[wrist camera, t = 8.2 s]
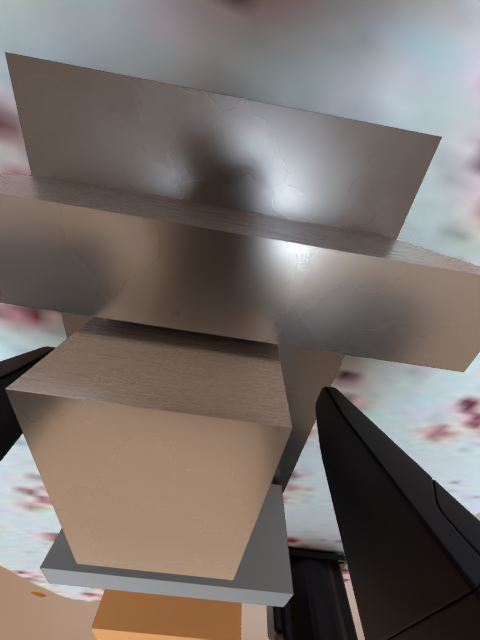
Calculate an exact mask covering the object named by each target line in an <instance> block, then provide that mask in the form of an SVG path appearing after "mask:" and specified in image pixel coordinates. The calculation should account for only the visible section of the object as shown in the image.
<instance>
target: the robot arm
mask: <svg viewBox="0 0 480 640" xmlns="http://www.w3.org/2000/svg"><path fill="white" fill-rule="evenodd" d="M54 349H55V347H47V346H46V347H42V348H39V349H36V350H33V351H30V352H27V353H24V354H21V355H18V356H15V357H12V358H9V359H6V360H3V361H0V461H1V460H2V459H3V458H4V456H5V455H6V454H7V452H8V451H9V450H10V449H11V447H12V446H13V445H14V444H15V442H16V441H17V440H18V439H19V437H20V436H21V435H22V434H23V432H22V429H21V427H20V424H19V422H18V420H17V417H16V415H15V412H14V410H13V407H12V405H11V402H10V400H9V398H8V395H7V393H6V390H5V389H6V388H7V387H8V386H9V385H11V384H12V383H13V382H14V381H16V380H17V379H18V378H19V377H21V376H22V375H23V374H24V373H26V372H27V371H28V370H29V369H31V368H32V367H33V366H34V365H35V364H37V363H38V362H39V361H40V360H42V359H43V358H44V357H45V356H47V355H48V354H49V353H50V352H52V351H53V350H54ZM315 411H316V419H317V427H318V435H319V443H320V450H321V455H322V460H323V464H324V468H325V473H326V477H327V481H328V485H329V489H330V494H331V498H332V502H333V506H334V511H335V515H336V519H337V523H338V527H339V532H340V536H341V540H342V544H343V548H344V553H345V556H344V555H338V554H329V553H320V552H311V551H302V550H294V549H288V550H289V559H290V568H291V577H292V586H293V596H292V597H291V598H290V599H289V601H288V602H287V603H286V605H285V606H284V607H277V606H267V627H268V637H269V639H270V640H358V638H357V634H356V629H355V625H354V621H353V617H352V613H351V609H350V605H349V601H348V597H347V592H346V588H345V584H344V580H343V576H342V572H341V569H342V568H343V567H344V566H345V565H346V564H347V565H348V570H349V574H350V578H351V582H352V586H353V591H354V595H355V599H356V603H357V607H358V612H359V616H360V620H361V624H362V628H363V633H364V637H365V640H480V521H479V520H478V519H477V518H476V517H475V516H474V515H472V514H471V513H470V512H469V511H468V510H467V509H466V508H465V507H464V506H462V505H461V504H460V503H459V502H458V501H457V500H456V499H455V498H454V497H453V496H451V495H450V494H449V493H448V492H447V491H446V490H445V489H444V488H443V487H442V486H441V485H440V484H439V483H437V482H436V481H435V480H432V477H431V476H430V475H429V474H428V473H427V472H426V471H424V470H423V469H422V468H421V467H420V466H419V465H418V464H417V463H416V462H415V461H414V460H413V459H412V458H410V457H409V456H408V455H407V454H406V453H405V452H404V451H403V450H402V449H401V448H400V447H399V446H398V445H396V444H395V443H394V442H393V441H392V440H391V439H390V438H389V437H388V436H387V435H386V434H385V433H384V432H383V431H381V430H380V429H379V428H378V427H377V426H376V425H375V424H374V423H373V422H372V421H371V420H370V419H369V418H367V417H366V416H365V415H364V414H363V413H362V412H361V411H360V410H359V409H358V408H357V407H356V406H355V405H354V404H352V403H351V402H350V401H349V400H348V399H347V398H346V397H345V396H344V395H343V394H342V393H341V392H340V391H338V390H337V389H336V388H333V387H327V386H325V387H323V388H322V390H321V392H320V394H319V397H318V399H317V401H316V405H315Z"/></svg>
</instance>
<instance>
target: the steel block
mask: <svg viewBox="0 0 480 640" xmlns="http://www.w3.org/2000/svg"><path fill="white" fill-rule="evenodd" d="M5 390H6V393H7V395H8V398H9V400H10V402H11V405H12V407H13V410H14V412H15V415H16V417H17V420H18V422H19V424H20V427H21V429H22V432H23V434H24V437H25V439H26V441H27V444H28V446H29V449H30V451H31V454H32V456H33V458H34V461H35V463H36V466H37V468H38V471H39V473H40V475H41V478H42V480H43V483H44V485H45V488H46V490H47V492H48V495H49V497H50V500H51V502H52V505H53V507H54V509H55V512H56V514H57V517H58V519H59V522H60V524H61V526H62V529H63V531H64V534H65V536H66V539H67V541H68V544H69V546H70V548H71V551H72V553H73V556H74V558H75V561H76V563H77V564H85V565H94V566H103V567H113V568H122V569H132V570H141V571H151V572H160V573H169V574H179V575H188V576H198V577H207V578H217V579H226V580H233V579H234V577H235V574H236V572H237V569H238V567H239V564H240V561H241V559H242V556H243V554H244V551H245V549H246V546H247V543H248V541H249V538H250V536H251V533H252V531H253V528H254V525H255V523H256V520H257V518H258V515H259V513H260V510H261V507H262V505H263V502H264V500H265V497H266V494H267V492H268V489H269V487H270V484H271V482H272V479H273V476H274V474H275V471H276V469H277V466H278V464H279V461H280V458H281V456H282V453H283V451H284V448H285V446H286V443H287V440H288V438H289V435H290V433H291V430H292V424H291V418H290V413H289V407H288V402H287V396H286V391H285V385H284V380H283V374H282V369H281V364H280V358H279V353H278V347H277V344H273V343H266V342H260V341H253V340H246V339H240V338H233V337H226V336H220V335H213V334H206V333H200V332H193V331H186V330H180V329H173V328H166V327H160V326H153V325H146V324H140V323H133V322H126V321H120V320H113V319H106V318H100V317H94V318H92V319H91V320H90V321H89V322H87V323H86V324H85V325H84V326H83V327H81V328H80V329H79V330H78V331H76V332H75V333H74V334H73V335H71V336H70V337H69V338H68V339H66V340H65V341H64V342H63V343H61V344H60V345H59V346H58V347H57V348H55V349H54V350H53V351H52V352H50V353H49V354H48V355H47V356H45V357H44V358H43V359H42V360H40V361H39V362H38V363H37V364H35V365H34V366H33V367H32V368H31V369H29V370H28V371H27V372H26V373H24V374H23V375H22V376H21V377H19V378H18V379H17V380H16V381H14V382H13V383H12V384H11V385H9V386H8V387H7V388H6V389H5Z"/></svg>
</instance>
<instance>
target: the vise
mask: <svg viewBox="0 0 480 640" xmlns="http://www.w3.org/2000/svg"><path fill="white" fill-rule="evenodd" d="M5 55H6V59H7V64H8V69H9V73H10V78H11V82H12V87H13V92H14V96H15V101H16V105H17V110H18V115H19V119H20V124H21V128H22V133H23V137H24V142H25V147H26V151H27V156H28V160H29V165H30V170H31V174H32V176H26V175H13V174H0V303H7V304H13V305H20V306H27V307H33V308H40V309H47V310H53V311H60V312H62V317H63V321H64V326H65V330H66V335H67V339H68V338H69V337H70V336H71V335H73V334H74V333H75V332H76V331H78V330H79V329H80V328H81V327H83V326H84V325H85V324H86V323H87V322H89V321H90V320H91V319H92V318H94V317H100V318H106V319H113V320H120V321H126V322H133V323H140V324H146V325H153V326H160V327H166V328H173V329H180V330H186V331H193V332H200V333H206V334H213V335H220V336H226V337H233V338H240V339H246V340H253V341H260V342H266V343H273V344H277V347H278V353H279V358H280V364H281V369H282V374H283V380H284V385H285V391H286V396H287V402H288V407H289V413H290V418H291V424H292V430H291V433H290V435H289V438H288V440H287V443H286V446H285V448H284V451H283V453H282V456H281V458H280V461H279V464H278V466H277V469H276V471H275V474H274V476H273V479H272V482H271V484H273V485H281V486H282V494H283V492H284V490H285V488H286V485H287V483H288V481H289V479H290V476H291V474H292V472H293V470H294V467H295V465H296V463H297V461H298V458H299V456H300V454H301V452H302V449H303V447H304V445H305V443H306V441H307V438H308V436H309V434H310V432H311V429H312V427H313V425H314V423H315V420H316V411H315V405H316V401H317V399H318V397H319V394H320V392H321V390H322V388H323V387H325V386H327V387H331V384H332V382H333V380H334V378H335V376H336V373H337V371H338V369H339V367H340V364H341V362H342V360H343V358H344V355H345V354H346V355H353V356H359V357H366V358H373V359H379V360H386V361H393V362H399V363H406V364H413V365H419V366H426V367H433V368H439V369H446V370H453V371H459V372H464V371H465V370H466V369H467V367H468V366H469V365H470V364H471V362H472V361H473V360H474V358H475V357H476V356H477V354H478V353H479V352H480V267H479V266H476V265H473V264H470V263H467V262H464V261H461V260H458V259H455V258H452V257H449V256H445V255H442V254H439V253H436V252H433V251H430V250H427V249H424V248H421V247H418V246H414V245H411V244H408V243H405V242H402V241H399V240H396V239H397V237H398V234H399V232H400V230H401V228H402V225H403V223H404V221H405V219H406V216H407V214H408V212H409V210H410V207H411V205H412V203H413V201H414V198H415V196H416V194H417V192H418V189H419V187H420V185H421V183H422V181H423V178H424V176H425V174H426V172H427V169H428V167H429V165H430V163H431V160H432V158H433V156H434V154H435V151H436V149H437V147H438V145H439V142H440V140H441V138H442V137H439V136H434V135H429V134H424V133H419V132H413V131H408V130H403V129H398V128H393V127H388V126H383V125H377V124H372V123H367V122H362V121H357V120H352V119H347V118H341V117H336V116H331V115H326V114H321V113H316V112H311V111H305V110H300V109H295V108H290V107H285V106H280V105H275V104H269V103H264V102H259V101H254V100H249V99H244V98H238V97H233V96H228V95H223V94H218V93H213V92H208V91H202V90H197V89H192V88H187V87H182V86H177V85H172V84H166V83H161V82H156V81H151V80H146V79H141V78H136V77H130V76H125V75H120V74H115V73H110V72H105V71H100V70H94V69H89V68H84V67H79V66H74V65H69V64H63V63H58V62H53V61H48V60H43V59H38V58H33V57H27V56H22V55H17V54H12V53H7V52H5Z"/></svg>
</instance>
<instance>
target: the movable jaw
mask: <svg viewBox="0 0 480 640" xmlns="http://www.w3.org/2000/svg"><path fill="white" fill-rule="evenodd" d="M40 569H41V571H42V572H43V574H44V576H45V577H46V579H47V580H48V582H49V583H51V584H61V585H71V586H81V587H90V588H100V589H105V591H104V594H103V597H102V599H101V602H100V605H99V608H98V610H97V613H96V616H95V619H94V622H93V624H92V628H91V629H92V631H93V633H94V635H95V637H96V639H97V640H241V605H242V603H247V604H257V605H267V606H277V607H284V606H285V605H286V603H287V602H288V601H289V599H290V598H291V597H292V596H293V586H292V577H291V568H290V559H289V550H288V541H287V532H286V522H285V513H284V504H283V495H282V486H281V485H273V484H270V487H269V489H268V492H267V494H266V497H265V500H264V502H263V505H262V507H261V510H260V513H259V515H258V518H257V520H256V523H255V525H254V528H253V531H252V533H251V536H250V538H249V541H248V543H247V546H246V549H245V551H244V554H243V556H242V559H241V561H240V564H239V567H238V569H237V572H236V574H235V577H234V579H233V580H226V579H217V578H207V577H198V576H188V575H179V574H169V573H160V572H151V571H141V570H132V569H122V568H113V567H103V566H94V565H85V564H77V563H76V561H75V558H74V556H73V553H72V551H71V548H70V546H69V544H68V541H67V539H66V536H65V534H64V531H63V529H61V531H60V533H59V534H58V536H57V538H56V540H55V541H54V543H53V545H52V547H51V549H50V550H49V552H48V554H47V556H46V558H45V559H44V561H43V563H42V565H41V567H40Z"/></svg>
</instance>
